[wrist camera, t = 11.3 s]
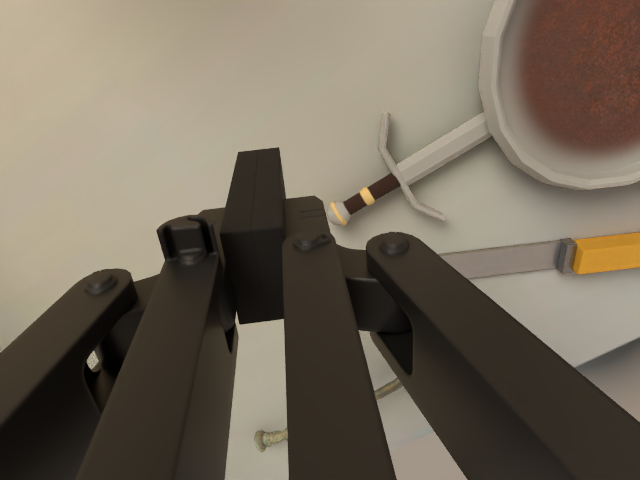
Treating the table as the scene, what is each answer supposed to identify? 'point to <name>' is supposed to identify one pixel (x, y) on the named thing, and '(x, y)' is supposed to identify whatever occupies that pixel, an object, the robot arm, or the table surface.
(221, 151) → the table surface
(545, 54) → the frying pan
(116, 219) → the table surface
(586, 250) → the knife
